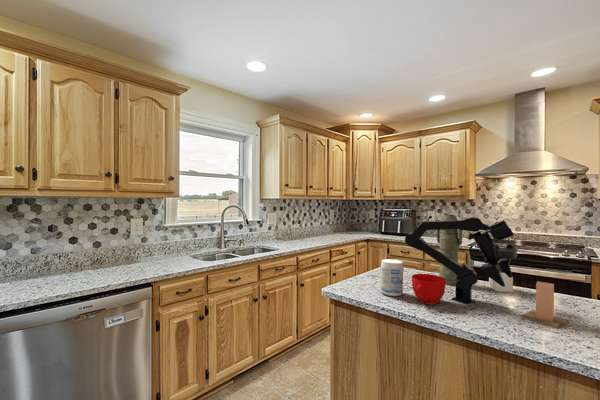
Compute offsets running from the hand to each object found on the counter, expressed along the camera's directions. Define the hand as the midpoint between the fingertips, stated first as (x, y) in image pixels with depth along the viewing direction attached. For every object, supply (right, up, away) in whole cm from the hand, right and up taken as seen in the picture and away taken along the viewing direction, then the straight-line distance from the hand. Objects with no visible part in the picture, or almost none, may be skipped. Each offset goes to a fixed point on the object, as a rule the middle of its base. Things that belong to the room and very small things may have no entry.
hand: (507, 281), depth 111 cm
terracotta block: (+5, -9, -11) cm, 16 cm away
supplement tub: (-41, -10, +16) cm, 45 cm away
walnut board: (+5, -10, -11) cm, 16 cm away
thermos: (-6, -10, +32) cm, 34 cm away
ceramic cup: (-30, -10, +5) cm, 32 cm away
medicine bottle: (+13, -10, +22) cm, 27 cm away
